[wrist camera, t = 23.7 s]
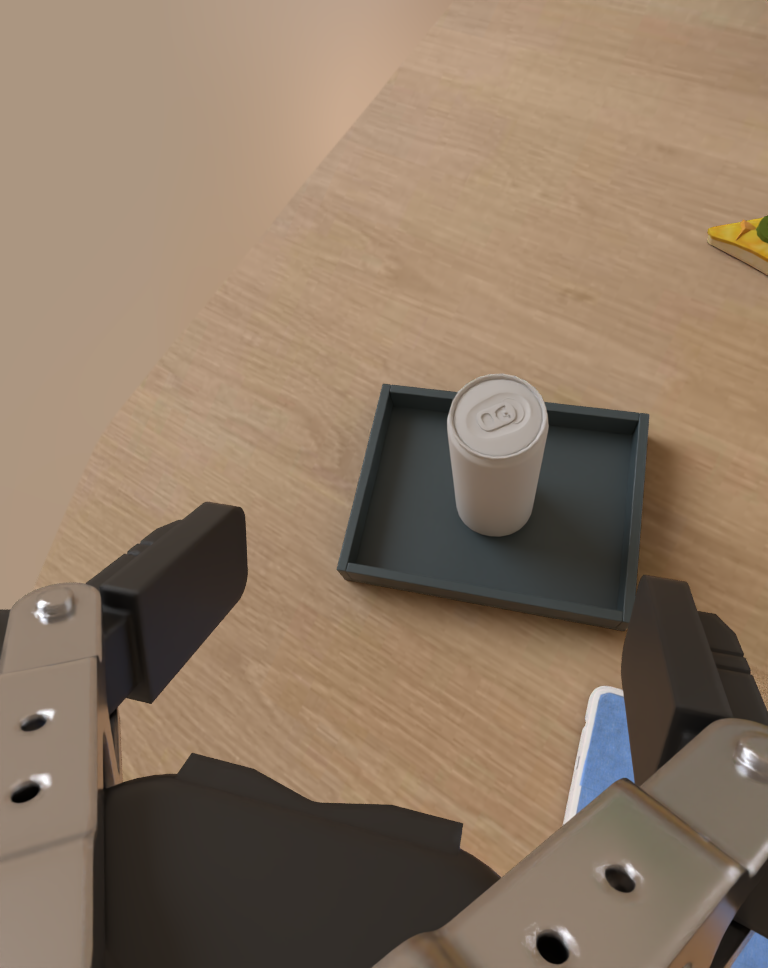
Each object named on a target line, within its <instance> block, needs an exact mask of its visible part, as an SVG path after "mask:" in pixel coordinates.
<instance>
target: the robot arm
mask: <svg viewBox="0 0 768 968" xmlns="http://www.w3.org/2000/svg"><path fill="white" fill-rule="evenodd" d="M247 575H248V567H247V545H246V523H245V514H244V511H243V510H242V508H240V507H237V506H231V505H225V504H219V503H213V502H205V503H203V504H202V505H200V506H199V507H198V508H197V509H195V510H194V511H193V512H192V513H190V514H189V515H188V516H187V517H185V518H184V519H183V520H177V521H175V522H172V523H170V524H168V525H165V526H163V527H160V528H158V529H156V530H155V531H153V532H152V533H151V534H149V535H148V536H147V537H145V538H144V539H143V540H142V541H141V543H140V544H136V545H135V546H134V547H132V548H131V549H130V550H129V551H128V553H127V554H123V555H122V556H121V557H119V558H118V559H117V560H116V561H114V562H113V563H112V564H110V565H109V566H108V567H106V568H105V569H104V570H102V571H101V572H100V573H99V574H97V575H96V576H95V577H93V578H92V579H91V580H89V581H88V582H87V583H86V584H83V583H59V584H54V585H49V586H46V587H42V588H40V589H37V590H34V591H32V592H30V593H28V594H27V595H25V596H23V597H22V598H21V599H19V600H18V601H17V602H16V603H15V604H14V605H13V607H12V608H11V610H0V968H730V967H731V966H732V964H733V963H734V961H735V960H736V959H737V957H738V956H739V954H740V953H741V952H742V950H743V949H744V947H745V946H746V945H747V943H748V942H749V940H750V939H751V938H752V936H753V935H754V933H755V932H756V933H758V934H760V935H761V936H763V937H765V938H767V939H768V711H767V709H766V707H765V704H764V702H763V699H762V697H761V694H760V692H759V690H758V687H757V685H756V682H755V680H754V677H753V675H750V671H751V670H750V668H749V665H748V663H747V661H746V658H744V657H743V655H744V653H743V651H742V648H741V646H740V644H739V641H738V639H737V636H736V634H735V633H734V632H733V631H732V630H731V629H730V628H729V627H728V626H727V625H726V624H725V623H724V622H723V621H722V620H721V619H720V618H719V617H718V616H717V615H716V614H712V613H706V612H701V611H697V609H696V606H695V603H694V600H693V597H692V594H691V591H690V588H689V585H688V583H687V582H684V581H678V580H672V579H666V578H660V577H654V576H648V575H643V576H642V578H641V580H640V582H639V585H638V589H637V593H636V597H635V601H634V605H633V610H632V614H631V618H630V622H629V626H628V630H627V634H626V638H625V642H624V647H623V653H622V663H621V678H622V686H623V694H624V702H625V710H626V718H627V726H628V734H629V742H630V750H631V758H632V766H633V774H634V782H635V783H633V782H632V781H631V780H629V779H628V778H621V779H619V780H617V781H615V782H614V783H613V784H611V785H610V786H609V787H608V788H607V789H606V790H604V791H603V792H602V793H601V794H600V795H598V796H597V797H596V798H595V799H594V800H593V801H591V802H590V803H589V804H588V805H587V806H585V807H584V808H583V809H582V810H581V811H580V812H578V813H577V814H576V815H575V816H574V817H572V818H571V819H570V820H569V821H568V822H567V823H565V824H564V825H563V826H562V827H561V828H560V829H558V830H557V831H556V832H555V833H554V834H552V835H551V836H550V837H549V838H548V839H547V840H545V841H544V842H543V843H542V844H541V845H539V846H538V847H537V848H536V849H535V850H534V851H532V852H531V853H530V854H529V855H528V856H526V857H525V858H524V859H523V860H522V861H521V862H519V863H518V864H517V865H516V866H515V867H513V868H512V869H511V870H510V871H509V872H508V873H506V874H505V875H504V876H503V877H502V878H501V877H500V876H499V875H498V874H497V873H496V872H494V871H493V870H492V869H491V868H490V867H489V866H487V865H486V864H484V863H483V862H482V861H480V860H479V859H477V858H476V857H474V856H473V855H471V854H469V853H468V852H466V851H464V850H462V849H460V842H461V834H462V827H463V823H459V822H455V821H451V820H448V819H444V818H440V817H436V816H432V815H428V814H425V813H421V812H417V811H413V810H409V809H405V808H402V807H398V806H394V805H379V804H345V803H319V802H314V801H311V800H309V799H307V798H305V797H303V796H301V795H300V794H298V793H296V792H294V791H292V790H291V789H289V788H287V787H285V786H283V785H282V784H280V783H278V782H276V781H274V780H273V779H271V778H269V777H267V776H266V775H264V774H262V773H260V772H258V771H257V770H255V769H252V768H248V767H244V766H241V765H237V764H233V763H229V762H225V761H221V760H218V759H214V758H210V757H206V756H202V755H198V754H194V753H192V754H191V755H190V756H189V758H188V759H187V761H186V762H185V764H184V765H183V767H182V768H181V769H180V771H179V772H178V774H163V775H153V776H147V777H142V778H137V779H133V780H130V781H126V782H123V773H122V751H121V730H120V716H119V710H118V706H119V705H120V704H121V703H122V702H123V700H124V699H125V698H129V699H133V700H137V701H141V702H145V703H149V704H152V702H153V701H154V700H155V699H156V698H157V697H158V695H159V694H160V693H161V692H162V691H163V689H164V688H165V687H166V686H167V685H168V684H169V682H170V681H171V680H172V679H173V678H174V676H175V675H176V674H177V673H178V672H179V671H180V669H181V668H182V667H183V666H184V665H185V663H186V662H187V661H188V660H189V659H190V658H191V656H192V655H193V654H194V653H195V652H196V650H197V649H198V648H199V647H200V646H201V645H202V643H203V642H204V641H205V640H206V639H207V637H208V636H209V635H210V634H211V633H212V632H213V630H214V629H215V628H216V627H217V626H218V624H219V623H220V622H221V621H222V620H223V619H224V617H225V616H226V615H227V614H228V613H229V611H230V610H231V609H232V608H233V607H234V606H235V604H236V603H237V602H238V601H239V599H240V598H241V596H242V594H243V592H244V589H245V586H246V582H247Z"/></svg>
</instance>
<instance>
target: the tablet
mask: <svg viewBox="0 0 768 968" xmlns="http://www.w3.org/2000/svg"><path fill="white" fill-rule="evenodd" d="M585 721H586V725H585V727H584V728H583V730H582V734H581V739H580V743H579V748H578V753H577V758H576V763H575V768H574V773H573V778H572V783H571V787H570V792H569V797H568V802H567V807H566V812H565V817H564V822H563V825H564V824H565V823H567V822H568V821H569V820H570V819H571V818H572V817H574V816H575V815H576V814H577V813H578V812H580V811H581V810H582V809H583V808H584V807H585V806H587V805H588V804H589V803H590V802H591V801H593V800H594V799H595V798H596V797H597V796H598V795H600V794H601V793H602V792H603V791H604V790H606V789H607V788H608V787H609V786H610V785H611V784H613V783H614V782H615V781H617V780H619V779H621V778H628V779H629V780H631V781H632V782H633V783H635V782H634V774H633V766H632V758H631V750H630V742H629V734H628V726H627V718H626V710H625V702H624V694H623V690H621V689H618V688H614V687H610V686H600V687H598V688H596V689H594V691H593V692H592V694H591V695H590V698H589V701H588V707H587V711H586V715H585ZM730 968H768V939H767V938H765V937H763V936H761V935H760V934H758V933H756V932H755V933H754V935H753V936H752V938H751V939H750V940H749V942H748V943H747V945H746V946H745V947H744V949H743V950H742V952H741V953H740V954H739V956H738V957H737V959H736V960H735V961H734V963H733V964H732V966H731V967H730Z"/></svg>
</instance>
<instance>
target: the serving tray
mask: <svg viewBox="0 0 768 968" xmlns="http://www.w3.org/2000/svg"><path fill="white" fill-rule="evenodd" d="M457 393H458V392H451V391H443V390H434V389H425V388H416V387H407V386H399V385H390V384H383V385H382V389H381V393H380V397H379V401H378V405H377V409H376V413H375V417H374V421H373V425H372V429H371V433H370V437H369V441H368V445H367V449H366V453H365V457H364V461H363V465H362V469H361V473H360V477H359V481H358V485H357V490H356V494H355V498H354V502H353V506H352V510H351V514H350V518H349V522H348V526H347V530H346V534H345V538H344V542H343V546H342V550H341V554H340V558H339V562H338V566H337V570H338V572H339V573H340V574H341V575H342V576H343V578H344V579H345V580H350V581H355V582H361V583H366V584H372V585H377V586H382V587H388V588H393V589H399V590H404V591H410V592H415V593H420V594H426V595H431V596H437V597H442V598H447V599H453V600H458V601H464V602H469V603H474V604H480V605H485V606H491V607H496V608H501V609H507V610H512V611H518V612H523V613H528V614H534V615H539V616H545V617H550V618H556V619H561V620H566V621H572V622H577V623H583V624H588V625H593V626H599V627H604V628H610V629H615V630H620V631H625V630H626V629H627V628H628V626H629V622H630V618H631V614H632V610H633V605H634V601H635V597H636V585H637V571H638V558H639V545H640V532H641V519H642V506H643V493H644V480H645V467H646V454H647V441H648V428H649V414H645V413H640V414H639V413H636V412H627V411H618V410H610V409H601V408H592V407H583V406H574V405H566V404H557V403H548V402H544V403H545V406H546V410H547V414H548V424H549V428H548V433H547V438H546V443H545V448H544V453H543V458H542V463H541V468H540V474H539V479H538V484H537V489H536V494H535V499H534V504H533V508H532V513H531V516H530V517H529V519H528V521H527V523H526V524H525V525H524V526H523V527H522V528H521V529H520V530H518V531H516V532H514V533H513V534H511V535H506V536H501V537H498V536H487V535H482V534H479V533H477V532H475V531H473V530H471V529H470V528H469V527H468V526H467V525H465V524H464V522H463V521H462V519H461V518H460V516H459V514H458V510H457V507H456V499H455V490H454V482H453V474H452V465H451V457H450V449H449V440H448V432H447V418H448V415H449V411H450V408H451V404H452V401H453V399H454V398H455V396H456V395H457Z"/></svg>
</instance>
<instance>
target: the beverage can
mask: <svg viewBox="0 0 768 968" xmlns="http://www.w3.org/2000/svg"><path fill="white" fill-rule="evenodd" d="M548 428H549V424H548V414H547V410H546V406H545V403H544V400H543V398H542V396H541V395H540V394H539V392H538V391H537V390H536V388H535V387H533V386H532V385H531V384H529V383H528V382H527V381H525V380H523V379H521V378H518V377H516V376H512V375H507V374H489V375H486V376H482V377H478V378H476V379H474V380H473V381H471V382H469V383H467V384H466V385H465V386H464V387H463V388H462V389H461V390H460V391H459V392H458V393H457V395H456V396H455V398H454V399H453V401H452V404H451V408H450V411H449V415H448V418H447V432H448V440H449V449H450V457H451V465H452V474H453V482H454V490H455V499H456V507H457V510H458V514H459V516H460V518H461V519H462V521H463V522H464V524H465V525H467V526H468V527H469V528H470V529H471V530H473V531H475V532H477V533H479V534H482V535H487V536H498V537H501V536H506V535H511V534H513V533H514V532H516V531H518V530H520V529H521V528H522V527H523V526H524V525H525V524H526V523H527V521H528V519H529V517H530V516H531V513H532V508H533V504H534V499H535V494H536V489H537V484H538V479H539V474H540V468H541V463H542V458H543V453H544V448H545V443H546V438H547V433H548Z"/></svg>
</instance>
